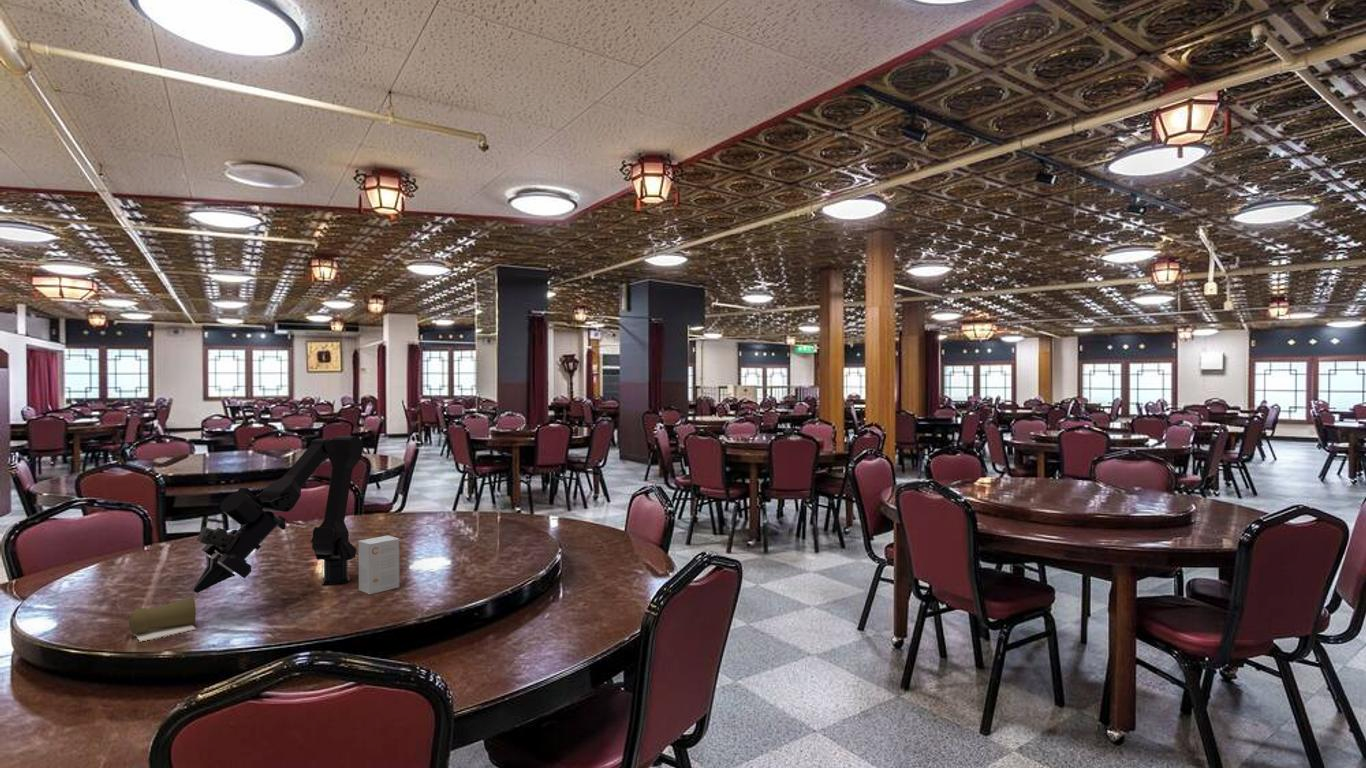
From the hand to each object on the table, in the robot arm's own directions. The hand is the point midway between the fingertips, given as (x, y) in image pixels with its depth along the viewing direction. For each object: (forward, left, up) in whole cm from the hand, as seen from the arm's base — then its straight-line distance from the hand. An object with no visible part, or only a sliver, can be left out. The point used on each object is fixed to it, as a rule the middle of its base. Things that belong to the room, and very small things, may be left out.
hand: (194, 591), depth 149 cm
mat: (+2, -5, -7) cm, 9 cm away
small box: (-9, +38, -7) cm, 40 cm away
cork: (0, 0, -4) cm, 4 cm away
